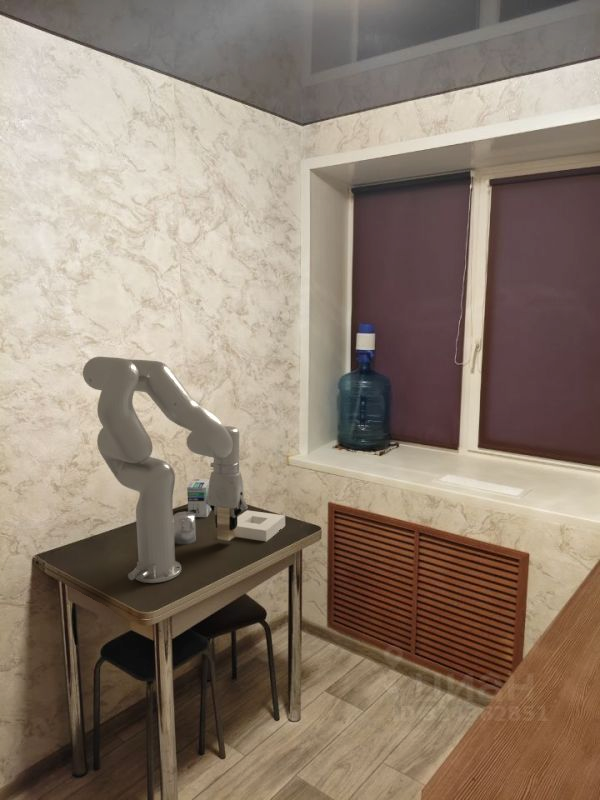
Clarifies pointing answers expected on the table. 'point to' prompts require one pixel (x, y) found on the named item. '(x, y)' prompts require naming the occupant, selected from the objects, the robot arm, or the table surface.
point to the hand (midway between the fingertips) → (226, 527)
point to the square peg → (224, 524)
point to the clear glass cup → (184, 527)
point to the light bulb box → (198, 497)
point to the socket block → (258, 525)
